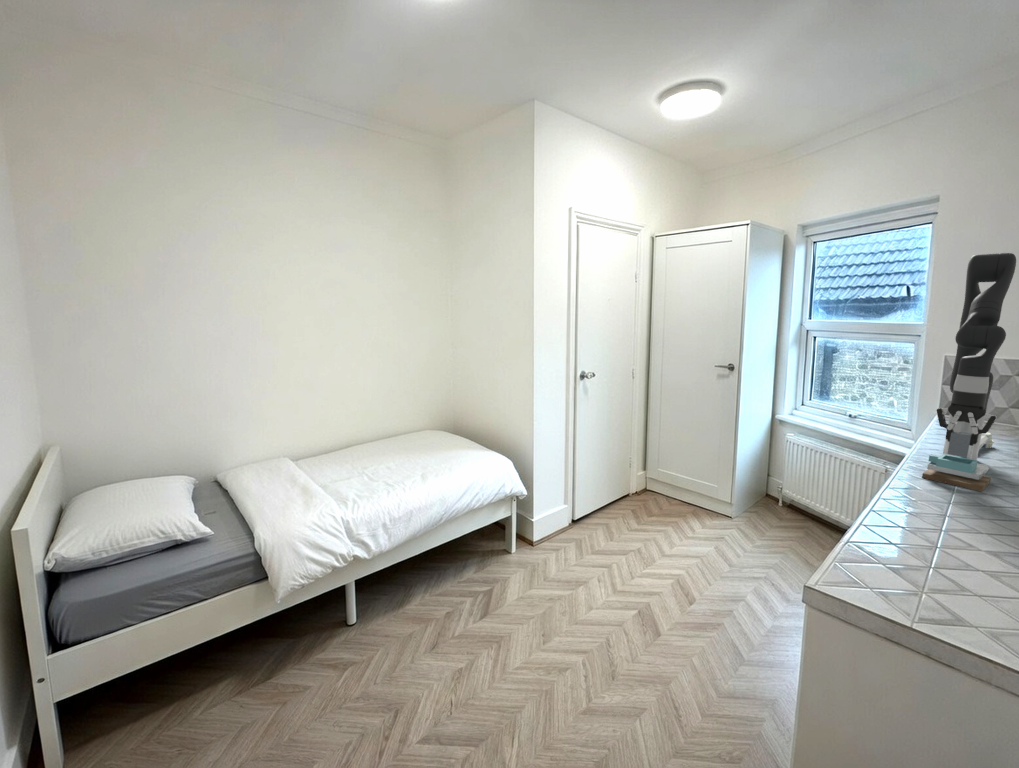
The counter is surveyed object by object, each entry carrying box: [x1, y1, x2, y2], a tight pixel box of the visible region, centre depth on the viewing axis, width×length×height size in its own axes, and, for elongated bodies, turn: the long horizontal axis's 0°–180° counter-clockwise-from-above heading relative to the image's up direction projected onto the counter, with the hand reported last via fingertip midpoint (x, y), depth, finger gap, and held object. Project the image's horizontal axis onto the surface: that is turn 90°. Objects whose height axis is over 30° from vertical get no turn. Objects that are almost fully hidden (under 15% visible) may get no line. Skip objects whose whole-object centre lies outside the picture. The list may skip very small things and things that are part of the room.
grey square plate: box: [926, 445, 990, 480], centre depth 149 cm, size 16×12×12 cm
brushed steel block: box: [947, 431, 972, 458], centre depth 146 cm, size 4×4×7 cm
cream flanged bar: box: [979, 431, 995, 450], centre depth 183 cm, size 5×7×25 cm
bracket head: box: [928, 453, 979, 473], centre depth 148 cm, size 8×11×2 cm
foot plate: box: [921, 469, 992, 492], centre depth 150 cm, size 14×14×2 cm
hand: (960, 442), depth 146 cm, fingers closed on brushed steel block, 4 cm apart
